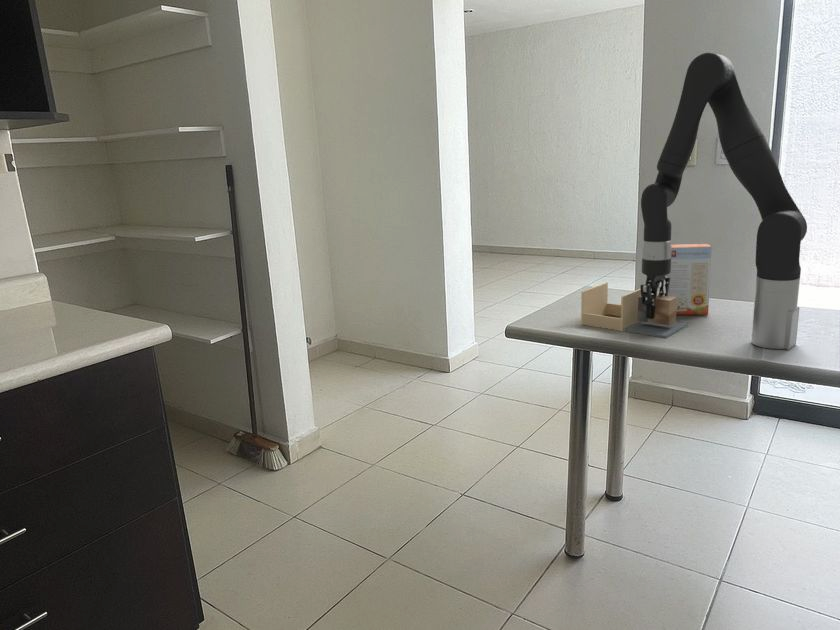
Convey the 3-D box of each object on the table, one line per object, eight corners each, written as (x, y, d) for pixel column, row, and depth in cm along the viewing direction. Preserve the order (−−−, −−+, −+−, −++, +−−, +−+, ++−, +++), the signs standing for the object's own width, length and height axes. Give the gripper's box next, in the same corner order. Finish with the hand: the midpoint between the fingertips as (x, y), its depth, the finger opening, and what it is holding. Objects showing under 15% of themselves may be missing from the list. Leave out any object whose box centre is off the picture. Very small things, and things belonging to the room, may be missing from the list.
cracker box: (705, 310, 186) (709, 243, 181) (708, 315, 181) (712, 246, 175) (656, 310, 190) (659, 244, 185) (658, 315, 185) (661, 247, 179)
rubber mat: (687, 325, 172) (687, 323, 172) (666, 338, 162) (666, 335, 162) (646, 319, 180) (646, 318, 180) (624, 331, 171) (624, 329, 171)
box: (675, 321, 169) (676, 297, 167) (668, 325, 166) (669, 300, 164) (644, 317, 175) (645, 293, 174) (637, 320, 172) (638, 296, 171)
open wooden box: (645, 319, 181) (646, 286, 178) (622, 331, 171) (623, 296, 168) (605, 313, 190) (606, 282, 187) (581, 324, 180) (581, 291, 177)
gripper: (658, 261, 159) (656, 324, 163) (681, 253, 169) (678, 312, 173) (631, 259, 164) (629, 320, 169) (654, 251, 174) (652, 309, 178)
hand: (654, 316), depth 171 cm, fingers closed on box, 4 cm apart
